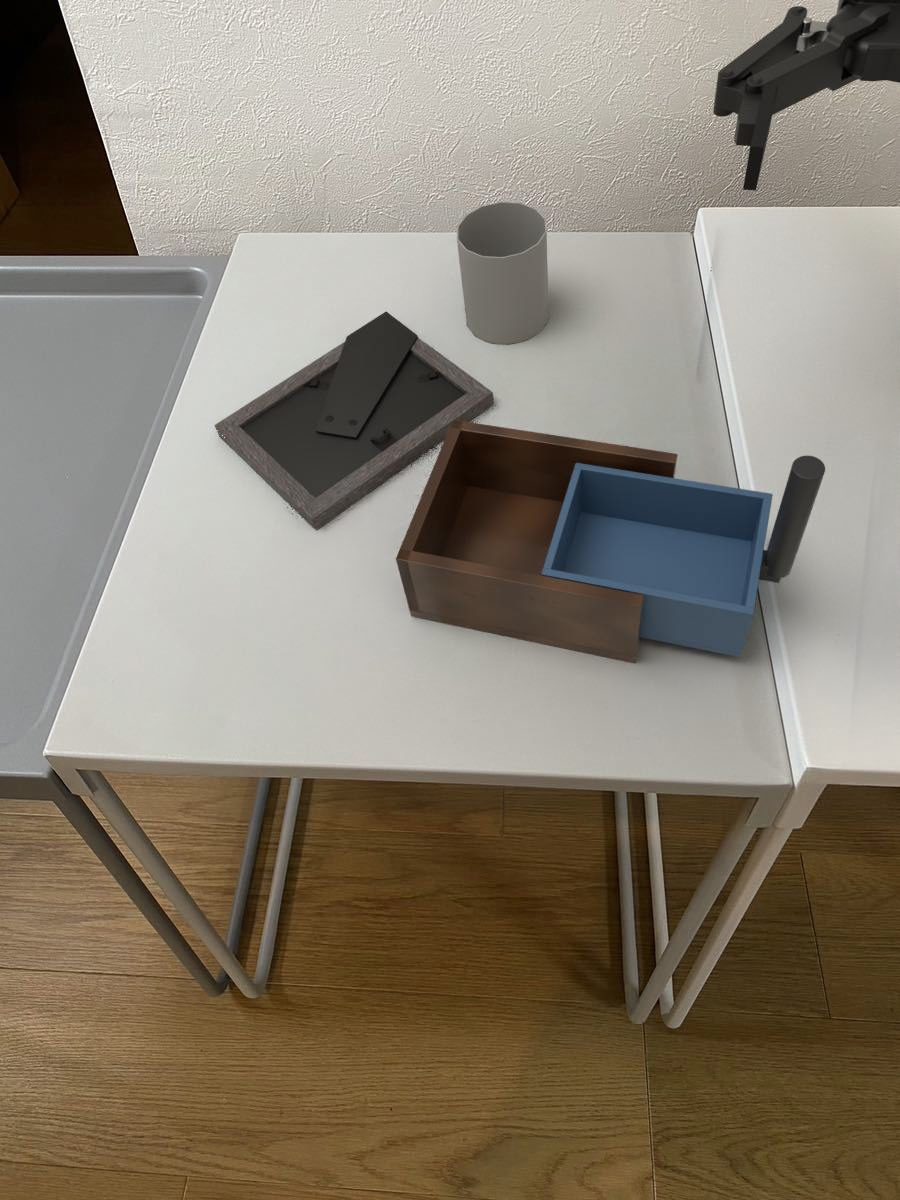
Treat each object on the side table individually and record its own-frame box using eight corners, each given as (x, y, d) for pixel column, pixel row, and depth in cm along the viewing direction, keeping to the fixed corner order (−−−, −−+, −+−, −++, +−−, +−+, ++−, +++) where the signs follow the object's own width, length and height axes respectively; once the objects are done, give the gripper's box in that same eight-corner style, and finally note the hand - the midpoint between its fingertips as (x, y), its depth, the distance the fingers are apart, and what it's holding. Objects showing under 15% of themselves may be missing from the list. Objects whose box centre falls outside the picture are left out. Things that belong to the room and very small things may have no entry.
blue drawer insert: (787, 546, 74) (833, 407, 61) (770, 664, 68) (816, 537, 56) (575, 509, 78) (576, 372, 65) (543, 617, 73) (537, 490, 60)
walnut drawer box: (668, 517, 78) (677, 453, 71) (634, 663, 71) (641, 606, 64) (462, 483, 83) (452, 419, 76) (410, 616, 75) (395, 558, 69)
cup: (457, 340, 93) (446, 254, 85) (475, 286, 97) (467, 200, 89) (541, 347, 91) (538, 260, 83) (555, 292, 95) (554, 204, 87)
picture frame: (389, 326, 95) (219, 436, 89) (386, 311, 93) (212, 421, 87) (493, 404, 88) (315, 530, 81) (492, 388, 86) (310, 516, 80)
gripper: (1079, 59, 63) (1095, 257, 52) (704, 43, 69) (650, 217, 59) (1135, -68, 57) (1166, 128, 46) (717, -73, 63) (660, 99, 52)
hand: (877, 178), depth 52 cm, fingers open, 13 cm apart
